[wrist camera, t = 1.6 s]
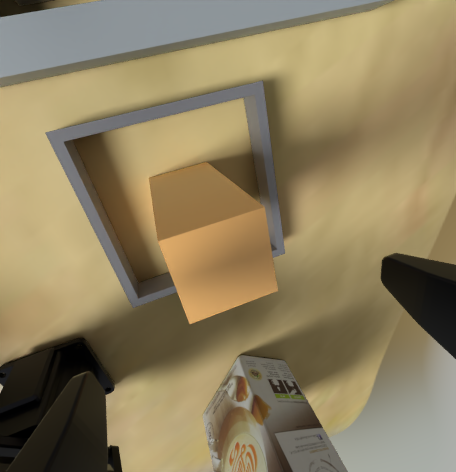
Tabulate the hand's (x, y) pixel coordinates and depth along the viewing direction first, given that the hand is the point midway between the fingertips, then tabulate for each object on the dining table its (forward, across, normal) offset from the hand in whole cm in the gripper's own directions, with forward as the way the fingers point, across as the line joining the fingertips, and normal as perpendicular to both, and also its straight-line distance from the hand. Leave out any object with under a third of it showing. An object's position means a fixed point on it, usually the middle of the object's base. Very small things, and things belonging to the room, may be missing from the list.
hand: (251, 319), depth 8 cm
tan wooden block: (+13, 0, 0) cm, 13 cm away
